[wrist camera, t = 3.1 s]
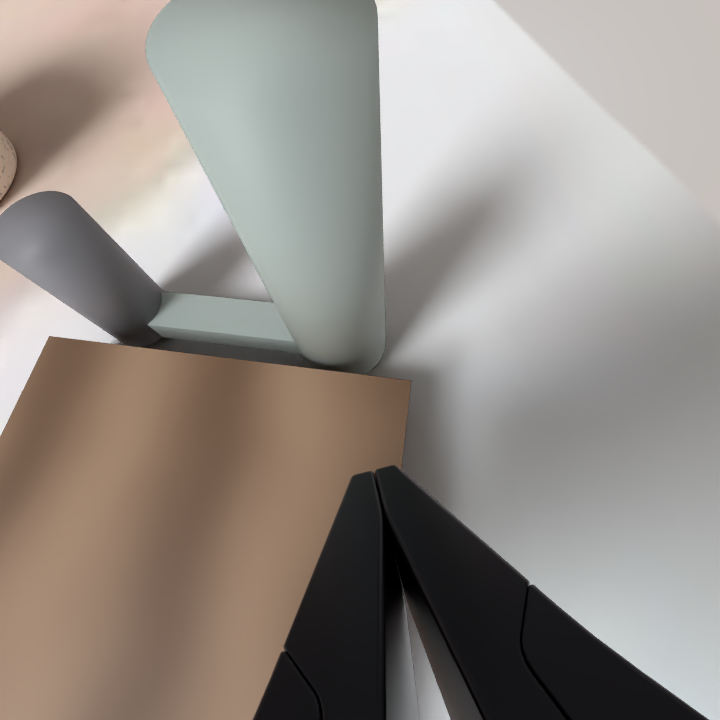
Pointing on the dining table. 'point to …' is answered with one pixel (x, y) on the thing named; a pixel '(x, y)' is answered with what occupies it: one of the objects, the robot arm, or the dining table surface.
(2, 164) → the teacup with lid
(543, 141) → the dining table surface
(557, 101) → the dining table surface
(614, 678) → the robot arm
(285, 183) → the grey u-shaped piece
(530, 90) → the dining table surface
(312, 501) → the stool seat
